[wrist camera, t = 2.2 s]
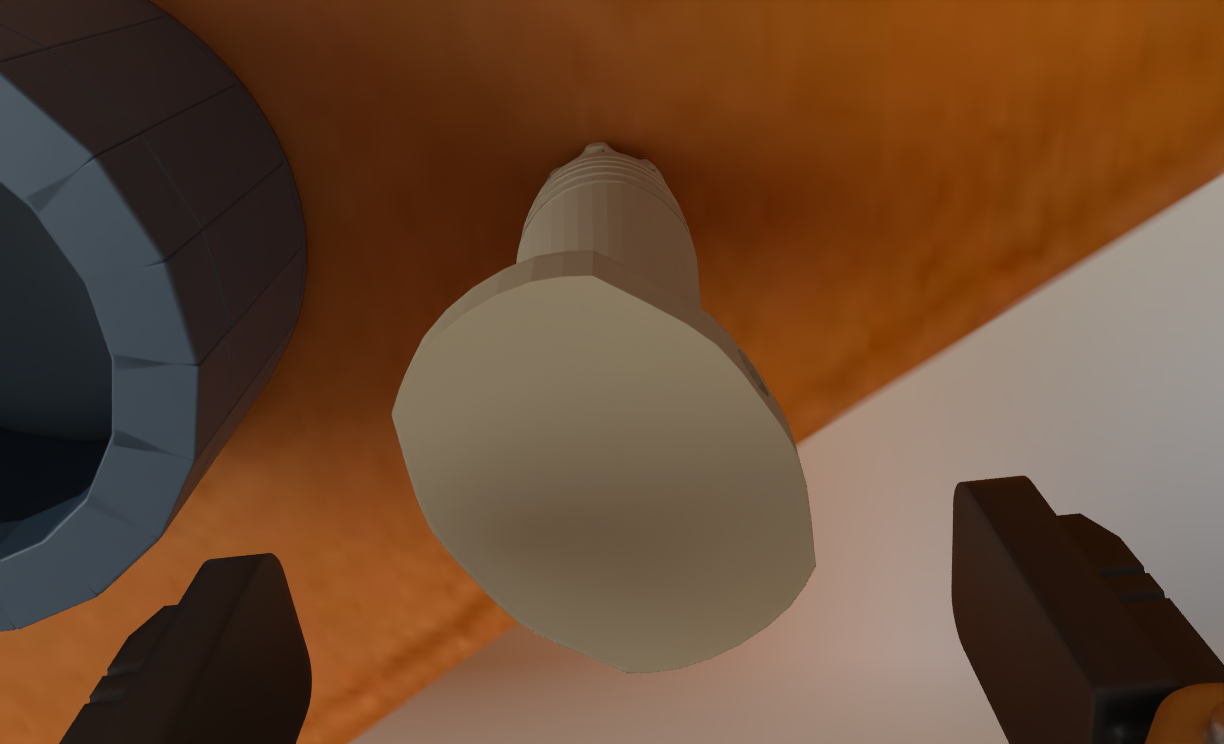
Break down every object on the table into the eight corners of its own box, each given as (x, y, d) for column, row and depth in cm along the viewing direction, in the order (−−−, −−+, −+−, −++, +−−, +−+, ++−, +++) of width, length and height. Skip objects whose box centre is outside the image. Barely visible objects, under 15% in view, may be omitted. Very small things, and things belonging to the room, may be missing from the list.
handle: (603, 337, 29) (606, 719, 16) (459, 155, 27) (318, 416, 14) (746, 241, 28) (883, 563, 15) (608, 43, 26) (618, 205, 12)
